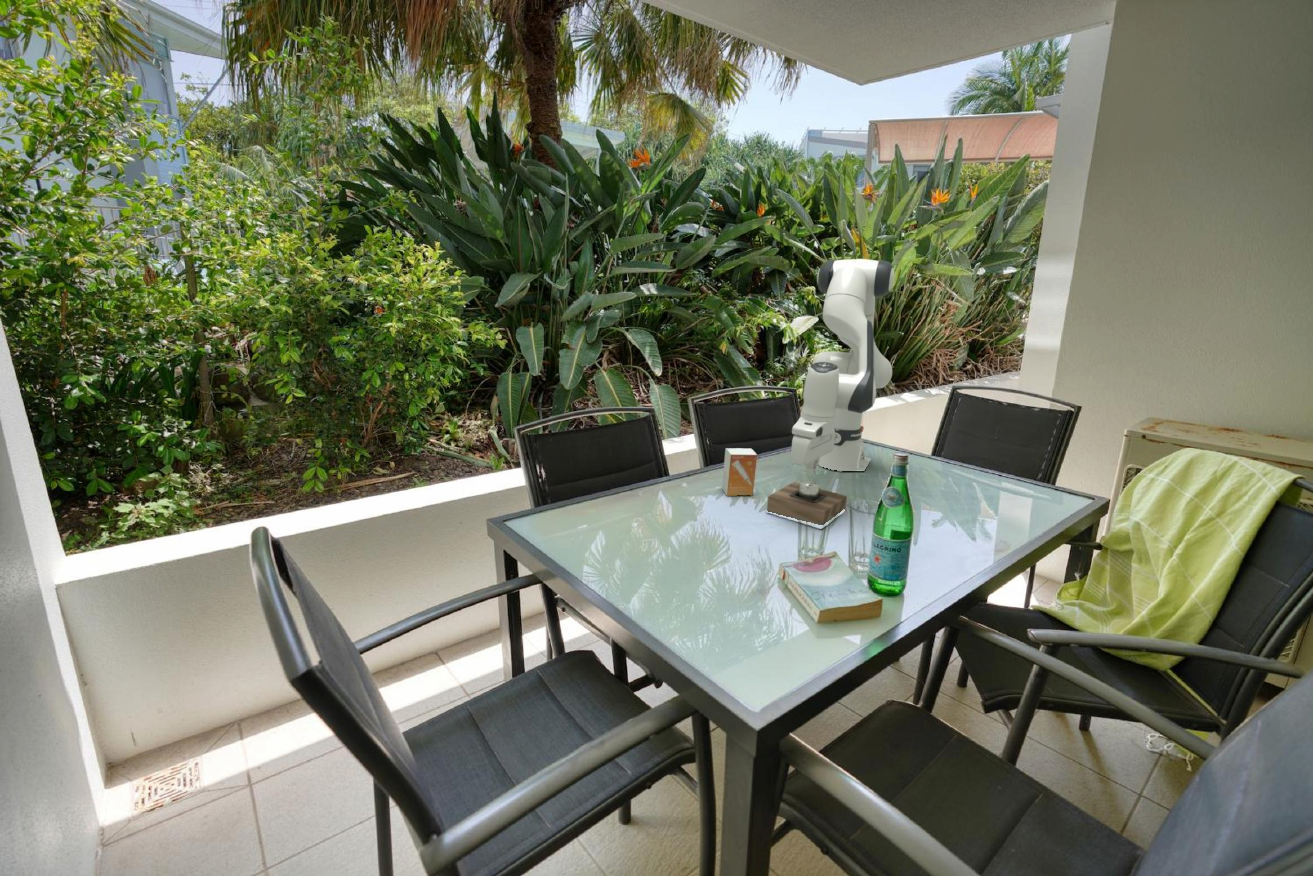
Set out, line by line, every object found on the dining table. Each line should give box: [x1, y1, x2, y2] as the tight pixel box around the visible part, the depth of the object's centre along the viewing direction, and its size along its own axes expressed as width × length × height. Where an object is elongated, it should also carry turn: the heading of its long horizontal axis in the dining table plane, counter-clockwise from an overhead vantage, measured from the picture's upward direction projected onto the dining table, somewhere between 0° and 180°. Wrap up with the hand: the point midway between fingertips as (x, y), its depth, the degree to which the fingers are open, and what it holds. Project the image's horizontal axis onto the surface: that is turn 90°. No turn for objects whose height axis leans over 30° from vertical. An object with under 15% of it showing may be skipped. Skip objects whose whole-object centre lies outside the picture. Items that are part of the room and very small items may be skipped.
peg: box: [799, 480, 820, 501], centre depth 169 cm, size 5×5×5 cm
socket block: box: [766, 481, 848, 525], centre depth 170 cm, size 16×16×5 cm
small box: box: [721, 447, 758, 497], centre depth 181 cm, size 8×6×13 cm
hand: (810, 473), depth 167 cm, fingers closed
